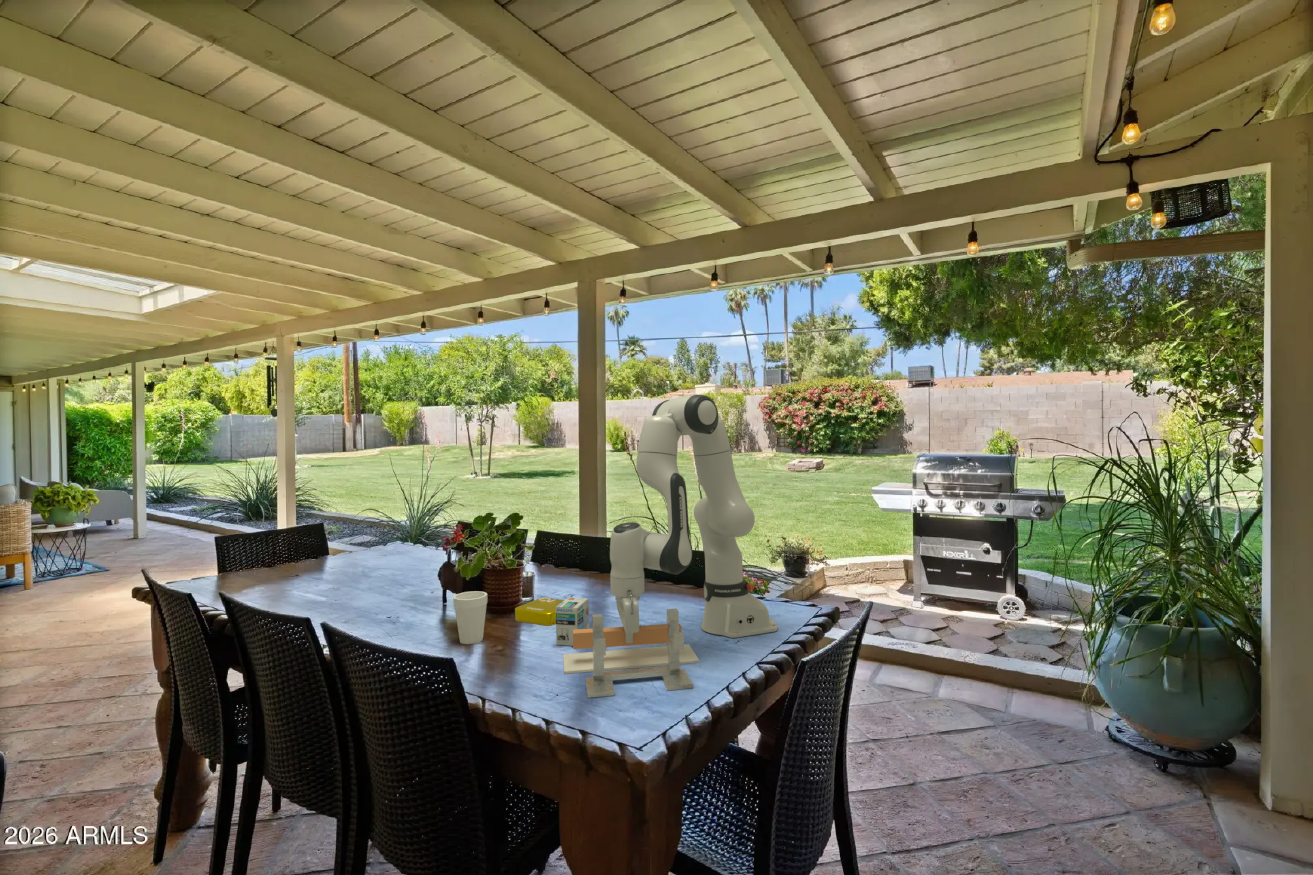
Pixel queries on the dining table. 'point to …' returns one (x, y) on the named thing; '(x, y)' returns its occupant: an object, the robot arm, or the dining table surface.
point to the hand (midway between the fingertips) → (628, 639)
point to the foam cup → (470, 615)
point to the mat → (626, 659)
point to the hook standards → (670, 674)
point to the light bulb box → (571, 619)
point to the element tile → (538, 612)
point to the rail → (622, 636)
